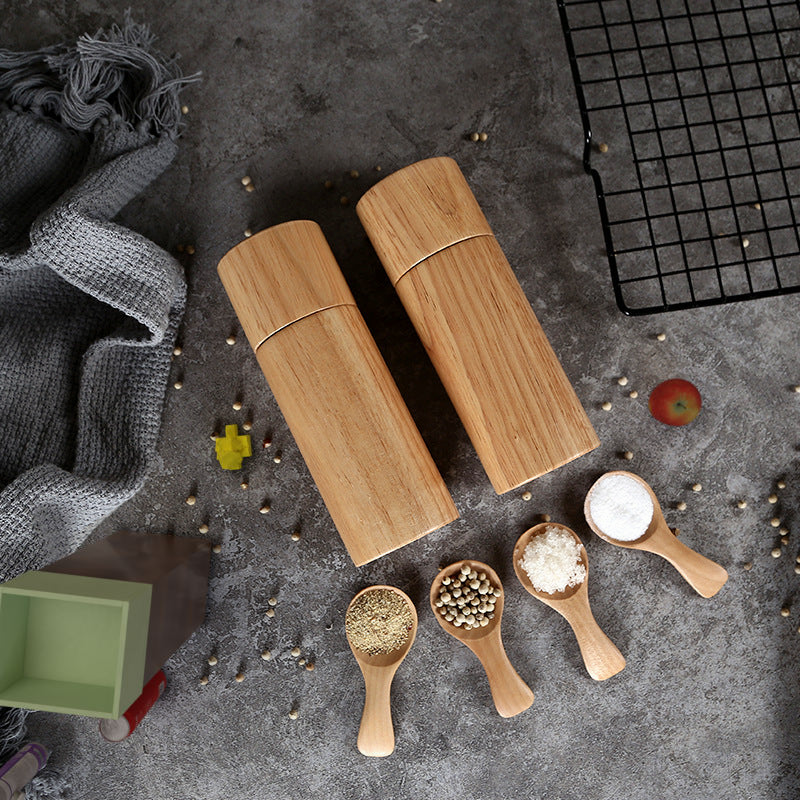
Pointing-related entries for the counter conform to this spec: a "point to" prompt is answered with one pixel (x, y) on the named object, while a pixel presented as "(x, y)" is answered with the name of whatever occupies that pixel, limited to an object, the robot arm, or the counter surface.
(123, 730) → the beverage can
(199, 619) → the stand
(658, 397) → the apple
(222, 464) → the yellow cross puzzle piece
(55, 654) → the bin
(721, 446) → the counter surface
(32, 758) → the container
